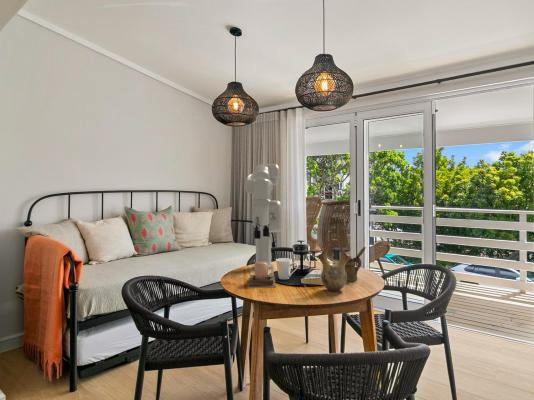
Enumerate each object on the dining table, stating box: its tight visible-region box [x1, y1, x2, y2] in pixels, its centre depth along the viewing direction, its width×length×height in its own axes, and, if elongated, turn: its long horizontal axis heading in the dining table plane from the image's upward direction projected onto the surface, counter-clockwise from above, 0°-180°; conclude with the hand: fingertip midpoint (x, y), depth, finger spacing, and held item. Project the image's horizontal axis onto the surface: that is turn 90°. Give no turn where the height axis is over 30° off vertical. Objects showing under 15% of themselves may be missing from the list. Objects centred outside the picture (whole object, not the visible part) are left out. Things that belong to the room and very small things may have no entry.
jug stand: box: [246, 274, 277, 289], centre depth 170 cm, size 20×14×4 cm
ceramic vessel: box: [316, 238, 352, 292], centre depth 160 cm, size 16×9×25 cm, turn 82°
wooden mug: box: [345, 246, 366, 283], centre depth 178 cm, size 9×14×18 cm, turn 81°
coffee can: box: [332, 246, 351, 264], centre depth 195 cm, size 10×10×14 cm
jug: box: [254, 261, 275, 280], centre depth 170 cm, size 10×7×10 cm
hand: (261, 237), depth 166 cm, fingers open, 9 cm apart
